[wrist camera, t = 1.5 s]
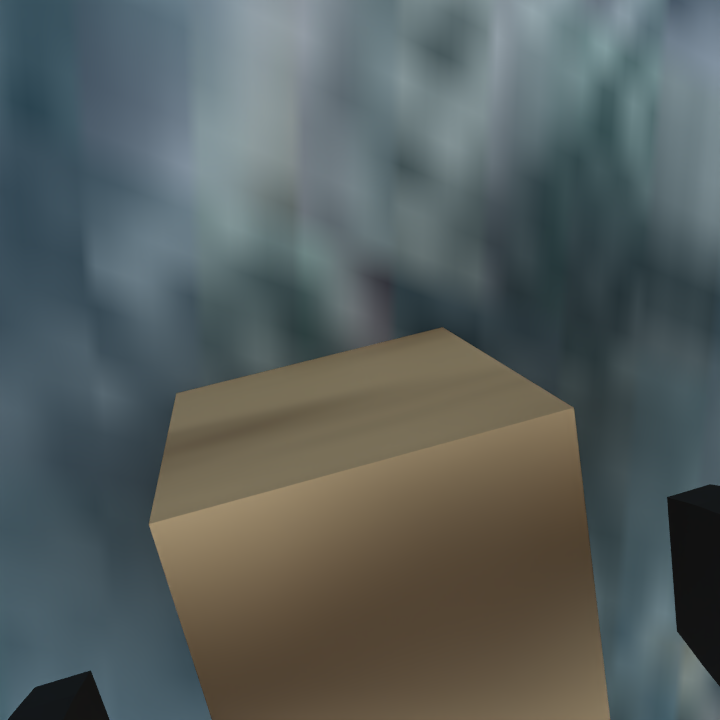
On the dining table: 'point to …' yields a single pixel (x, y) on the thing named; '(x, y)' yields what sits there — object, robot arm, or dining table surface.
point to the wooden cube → (382, 541)
